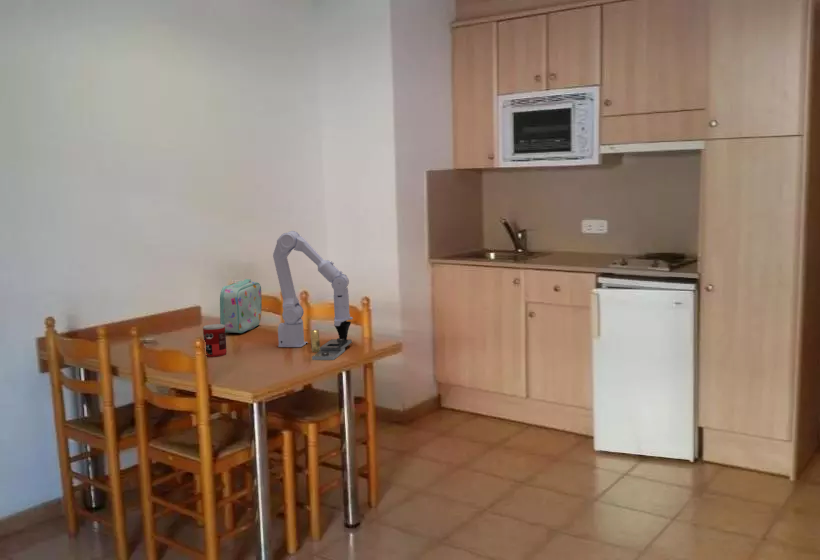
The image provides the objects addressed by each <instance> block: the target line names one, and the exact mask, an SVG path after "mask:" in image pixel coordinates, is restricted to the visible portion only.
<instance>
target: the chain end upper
mask: <svg viewBox="0 0 820 560" xmlns="http://www.w3.org/2000/svg"><path fill="white" fill-rule="evenodd" d="M352 343H353V342H352V339H350V338H347V339H344V338H339V337H337V338H336V339H334V338H333V339H330V340H329V341H327V342H326V343H324V344H322V345H320V351H341V350H343V349H344V348H345V349H346V348H347V347H348V346H349V345H350V344H352Z"/></svg>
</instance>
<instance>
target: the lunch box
mask: <svg viewBox="0 0 820 560" xmlns="http://www.w3.org/2000/svg"><path fill="white" fill-rule="evenodd" d="M220 290H221V291H220V294H219V317H220V318H219V322H220V323H219V324H223V325H225V334H226V333H233V334H243V333H245V332H247V331H250V330H254V329H255V328H256V327H258V326H259V325H260V323H261V319H262V305H263V304H262V303H263V302H262V285H261V284H260V282H257V281H252V280H251V279H249V278H245V279H244V280H239V281H236V282H234V283H232V284H231V283H230V284H229V285H224V286H223V287H222V288H221V289H220Z"/></svg>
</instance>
